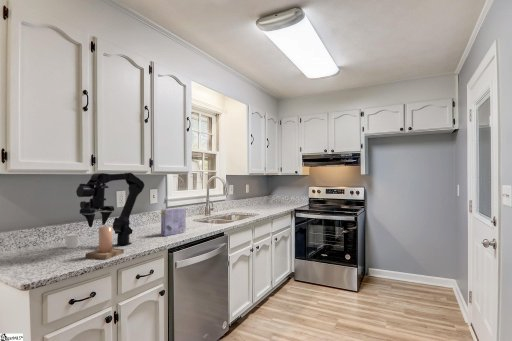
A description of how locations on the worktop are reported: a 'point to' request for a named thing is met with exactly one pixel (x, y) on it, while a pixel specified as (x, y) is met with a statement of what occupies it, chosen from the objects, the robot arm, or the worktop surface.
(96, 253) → the walnut stand
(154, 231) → the worktop surface
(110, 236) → the pink rounded glossy part
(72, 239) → the shot glass
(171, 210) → the cake pan box
